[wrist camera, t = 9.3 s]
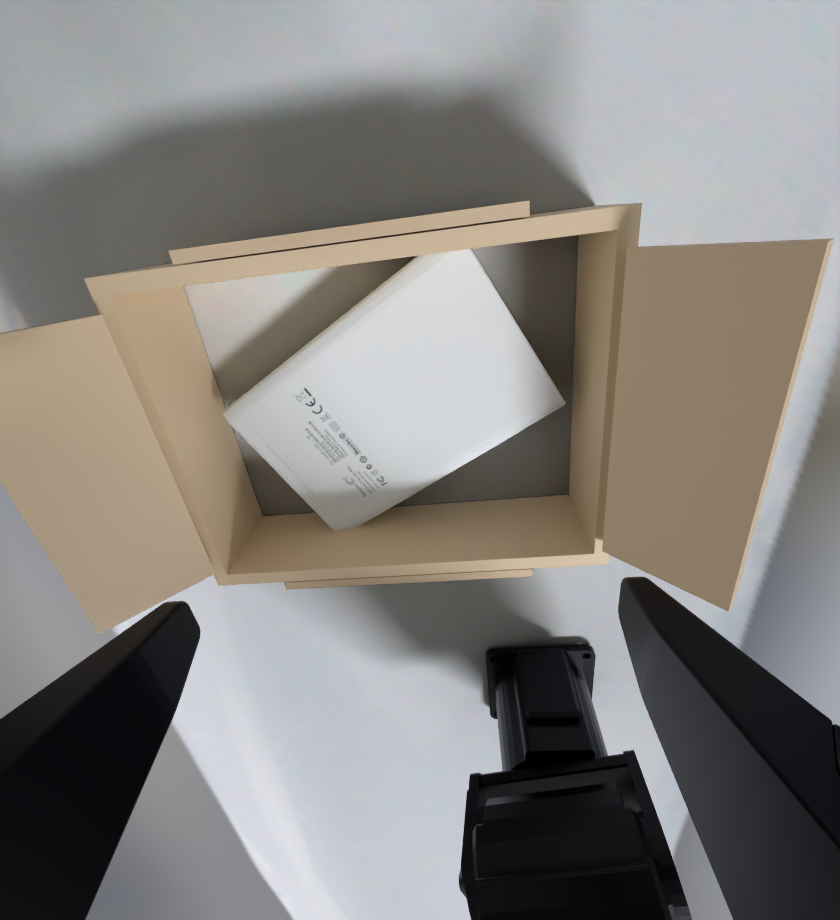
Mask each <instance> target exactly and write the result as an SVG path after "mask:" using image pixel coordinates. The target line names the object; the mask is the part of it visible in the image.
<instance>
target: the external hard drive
mask: <svg viewBox="0 0 840 920" xmlns="http://www.w3.org/2000/svg"><path fill="white" fill-rule="evenodd" d="M565 404H566V402H565V400H564V398H563V397H562V395H561V394H560V392H559V390H558V389H557V387H556V386H555V384H554V382H553V381H552V379H551V378H550V376H549V374H548V373H547V371H546V369H545V368H544V366H543V365H542V363H541V361H540V360H539V358H538V356H537V355H536V353H535V352H534V350H533V348H532V347H531V345H530V344H529V342H528V340H527V339H526V337H525V336H524V334H523V332H522V331H521V329H520V327H519V326H518V324H517V323H516V321H515V319H514V318H513V316H512V315H511V313H510V311H509V310H508V308H507V307H506V305H505V303H504V302H503V300H502V298H501V297H500V295H499V294H498V292H497V290H496V289H495V287H494V285H493V284H492V282H491V280H490V279H489V277H488V276H487V274H486V272H485V271H484V269H483V268H482V266H481V264H480V263H479V261H478V259H477V258H476V256H475V255H474V253H473V251H472V250H471V249H466V250H458V251H450V252H443V253H435V254H427V255H419V256H416V257H414V258H413V259H412V260H411V261H410V262H408V263H407V264H406V265H405V266H403V267H402V268H401V269H400V270H399V271H397V272H396V273H395V274H394V275H392V276H391V277H390V278H389V279H387V280H386V281H385V282H384V283H382V284H381V285H380V286H379V287H377V288H376V289H375V290H374V291H372V292H371V293H370V294H369V295H367V296H366V297H365V298H364V299H362V300H361V301H360V302H359V303H357V304H356V305H355V306H354V307H352V308H351V309H350V310H349V311H347V312H346V313H345V314H344V315H342V316H341V317H340V318H339V319H337V320H336V321H335V322H333V323H332V324H331V325H330V326H329V327H327V328H326V329H325V330H324V331H322V332H321V333H320V334H318V335H317V336H316V337H315V338H314V339H312V340H311V341H310V342H309V343H307V344H306V345H305V346H304V347H303V348H301V349H300V350H299V351H297V352H296V353H295V354H294V355H292V356H291V357H290V358H289V359H287V360H286V361H285V362H284V363H283V364H281V365H280V366H279V367H277V368H276V369H275V370H274V371H272V372H271V373H270V374H269V375H267V376H266V377H265V378H264V379H262V380H261V381H260V382H259V383H258V384H256V385H255V386H254V387H253V388H251V389H250V390H249V391H247V392H246V393H244V394H243V395H242V396H241V397H239V398H238V399H237V400H236V401H234V402H233V403H232V404H231V405H230V406H229V407H228V408H227V409H225V410H224V411H223V415H224V417H225V419H226V420H227V421H228V423H229V424H230V425H231V426H232V427H233V428H234V429H235V430H236V431H237V432H238V433H239V434H240V435H241V436H242V437H243V438H244V439H245V440H246V441H247V442H248V443H249V444H250V445H251V446H252V447H253V448H254V449H255V450H256V451H257V452H258V453H259V454H260V455H261V456H262V457H263V458H264V459H265V460H266V461H267V462H268V464H269V465H270V466H271V467H272V468H273V469H274V470H275V471H276V472H277V473H278V474H279V475H280V476H281V477H282V478H283V479H284V480H285V481H286V482H287V483H288V484H289V485H290V486H291V487H292V488H293V489H294V490H295V491H296V492H297V494H298V495H299V496H300V497H301V498H302V499H303V500H304V501H305V502H306V503H307V504H308V505H309V506H310V507H311V508H312V509H313V510H314V511H315V512H316V513H317V514H318V515H319V516H320V517H321V518H322V519H323V520H324V521H325V523H327V524H328V525H329V527H330V528H331V529H332V530H343V529H350V528H355V527H359V526H360V525H362V524H364V523H365V522H367V521H369V520H371V519H372V518H374V517H376V516H378V515H379V514H381V513H383V512H384V511H386V510H388V509H390V508H391V507H393V506H395V505H396V504H398V503H400V502H402V501H403V500H405V499H407V498H408V497H410V496H412V495H414V494H415V493H417V492H419V491H420V490H422V489H424V488H425V487H427V486H429V485H430V484H432V483H434V482H436V481H437V480H439V479H441V478H442V477H444V476H446V475H447V474H449V473H451V472H453V471H454V470H456V469H458V468H459V467H461V466H463V465H464V464H466V463H468V462H469V461H471V460H473V459H475V458H476V457H478V456H480V455H481V454H483V453H485V452H487V451H488V450H490V449H492V448H493V447H495V446H497V445H498V444H500V443H502V442H504V441H505V440H507V439H508V438H510V437H512V436H514V435H515V434H517V433H519V432H520V431H522V430H523V429H525V428H527V427H528V426H530V425H532V424H533V423H535V422H537V421H539V420H540V419H542V418H544V417H545V416H547V415H549V414H550V413H552V412H554V411H556V410H557V409H559V408H561V407H562V406H564V405H565Z"/></svg>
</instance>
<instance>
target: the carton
mask: <svg viewBox="0 0 840 920" xmlns="http://www.w3.org/2000/svg"><path fill="white" fill-rule="evenodd" d="M641 207H642V203H635V204H616V205H598V206H589V207H582V208H575V209H567V210H560V211H553V212H545V213H538V214H531V215H530V200H529V201H522V202H515V203H508V204H500V205H493V206H486V207H479V208H472V209H464V210H457V211H450V212H443V213H436V214H429V215H421V216H414V217H407V218H400V219H393V220H385V221H378V222H371V223H364V224H357V225H350V226H342V227H335V228H328V229H321V230H314V231H306V232H299V233H292V234H285V235H278V236H271V237H263V238H256V239H249V240H242V241H235V242H227V243H220V244H213V245H206V246H199V247H192V248H184V249H177V250H170V251H168V252H169V254H170V257H171V260H172V263H170V264H163V265H157V266H151V267H146V268H140V269H134V270H129V271H123V272H118V273H112V274H106V275H101V276H95V277H89V278H84V280H85V283H86V285H87V287H88V290H89V292H90V294H91V296H92V299H93V301H94V303H95V306H96V308H97V310H98V312H99V314H102V315H103V318H104V320H105V322H106V324H107V327H108V329H109V331H110V334H111V336H112V338H113V341H114V343H115V345H116V347H117V350H118V352H119V354H120V357H121V359H122V361H123V363H124V366H125V368H126V370H127V373H128V375H129V377H130V379H131V382H132V384H133V386H134V389H135V391H136V393H137V395H138V398H139V400H140V402H141V405H142V407H143V409H144V412H145V414H146V416H147V418H148V421H149V423H150V425H151V428H152V430H153V432H154V434H155V437H156V439H157V441H158V444H159V446H160V448H161V450H162V453H163V455H164V457H165V460H166V462H167V464H168V466H169V469H170V471H171V473H172V476H173V478H174V480H175V482H176V485H177V487H178V489H179V492H180V494H181V496H182V499H183V501H184V503H185V505H186V508H187V510H188V512H189V515H190V517H191V519H192V521H193V524H194V526H195V528H196V531H197V533H198V535H199V537H200V540H201V542H202V544H203V547H204V549H205V551H206V553H207V556H208V558H209V560H210V563H211V565H212V567H213V570H214V572H215V574H214V576H215V579H216V581H217V583H218V585H236V584H255V583H273V582H284V585H285V587H286V589H303V588H322V587H341V586H360V585H379V584H398V583H417V582H436V581H455V580H474V579H493V578H512V577H531V576H533V569H532V568H549V567H567V566H586V565H604V564H608V562H609V554H607V553H605V552H603V551H602V545H603V533H604V521H605V509H606V497H607V484H608V472H609V460H610V448H611V436H612V424H613V412H614V400H615V388H616V376H617V364H618V352H619V340H620V328H621V316H622V304H623V292H624V280H625V268H626V256H627V249H629V248H633V247H638V239H639V228H640V218H641ZM573 235H579V236H578V263H577V290H576V317H575V344H574V371H573V398H572V425H571V452H570V478H569V495H556V496H542V497H528V498H514V499H500V500H486V501H472V502H457V503H443V504H429V505H415V506H401V507H391V508H390V509H388V510H386V511H384V512H383V513H381V514H379V515H378V516H376V517H374V518H372V519H371V520H369V521H367V522H365V523H364V524H362V525H360V526H359V527H355V528H350V529H343V530H332V529H331V528H330V527H329V525H328V524H327V523H325V521H324V520H323V519H322V518H321V517H320V516H319V515H318V514H317V513H302V514H288V515H274V516H262V513H261V510H260V507H259V504H258V501H257V498H256V495H255V493H254V490H253V487H252V484H251V481H250V478H249V475H248V472H247V469H246V467H245V464H244V461H243V458H242V455H241V452H240V449H239V446H238V443H237V441H236V438H235V435H234V432H233V429H232V426H231V425H230V424H229V423H228V421H227V420H226V419H225V417H224V415H223V411H224V410H225V406H224V403H223V400H222V397H221V394H220V391H219V388H218V386H217V383H216V380H215V377H214V374H213V371H212V368H211V365H210V362H209V360H208V357H207V354H206V351H205V348H204V345H203V342H202V339H201V336H200V334H199V331H198V328H197V325H196V322H195V319H194V316H193V313H192V310H191V308H190V305H189V302H188V299H187V296H186V293H185V290H184V287H183V286H188V285H196V284H204V283H212V282H219V281H227V280H235V279H242V278H250V277H258V276H265V275H273V274H281V273H289V272H296V271H304V270H312V269H319V268H327V267H335V266H342V265H350V264H358V263H366V262H373V261H381V260H389V259H396V258H404V257H412V256H419V255H427V254H435V253H443V252H450V251H458V250H466V249H473V248H481V247H489V246H496V245H504V244H512V243H520V242H527V241H535V240H543V239H550V238H558V237H566V236H573Z"/></svg>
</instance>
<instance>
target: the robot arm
mask: <svg viewBox="0 0 840 920" xmlns="http://www.w3.org/2000/svg"><path fill="white" fill-rule="evenodd" d="M618 613H619V619H620V623H621V627H622V630H623V633H624V637H625V640H626V644H627V647H628V651H629V654H630V658H631V661H632V664H633V668H634V671H635V675H636V678H637V682H638V685H639V688H640V692H641V695H642V698H643V701H644V703H645V706H646V708H647V711H648V713H649V716H650V718H651V721H652V723H653V726H654V728H655V730H656V733H657V735H658V738H659V740H660V743H661V745H662V747H663V750H664V752H665V755H666V757H667V760H668V762H669V764H670V767H671V769H672V772H673V774H674V777H675V779H676V781H677V784H678V786H679V789H680V791H681V794H682V796H683V798H684V801H685V803H686V806H687V808H688V811H689V813H690V815H691V818H692V820H693V823H694V825H695V827H696V830H697V832H698V835H699V837H700V840H701V842H702V844H703V847H704V849H705V852H706V854H707V857H708V859H709V861H710V864H711V866H712V869H713V871H714V874H715V876H716V879H717V881H718V883H719V885H720V888H721V891H722V893H723V896H724V898H725V900H726V903H727V905H728V908H729V910H730V912H731V915H732V917H733V920H840V726H838V725H832V721H831V720H830V719H829V718H828V717H826V716H825V715H824V714H822V713H821V712H820V711H819V710H817V709H816V708H815V707H813V706H812V705H811V704H809V703H808V702H807V701H806V700H804V699H803V698H802V697H800V696H799V695H798V694H797V693H795V692H794V691H793V690H791V689H790V688H789V687H788V686H786V685H785V684H784V683H782V682H781V681H780V680H778V679H777V678H776V677H775V676H773V675H772V674H771V673H769V672H768V671H767V670H766V669H764V668H763V667H762V666H760V665H759V664H758V663H756V662H755V661H754V660H752V659H751V658H750V657H749V656H747V655H746V654H745V653H744V652H742V651H741V650H740V649H738V648H737V647H736V646H734V645H733V644H732V643H731V642H729V641H728V640H727V639H725V638H724V637H723V636H721V635H720V634H719V633H718V632H716V631H715V630H714V629H712V628H711V627H710V626H709V625H707V624H706V623H705V622H703V621H702V620H701V619H699V618H698V617H697V616H696V615H694V614H693V613H692V612H690V611H689V610H688V609H687V608H685V607H684V606H683V605H681V604H680V603H679V602H677V601H676V600H675V599H674V598H672V597H671V596H670V595H668V594H667V593H666V592H665V591H663V590H662V589H661V588H659V587H658V586H657V585H655V584H654V583H653V582H652V581H650V580H649V579H647V578H645V577H627V578H624V579H623V580H622V582H621V589H620V597H619V606H618ZM199 639H200V627H199V625H198V623H197V621H196V619H195V617H194V615H193V613H192V611H191V609H190V607H189V605H188V604H187V603H186V602H184V601H173V602H166V603H163V604H162V605H160V606H159V607H158V608H156V609H155V610H153V611H152V612H151V613H149V614H148V615H146V616H145V617H143V618H142V619H141V620H139V621H138V622H136V623H135V624H134V625H132V626H131V627H129V628H128V629H127V630H125V631H124V632H122V633H121V634H120V635H118V636H117V637H115V638H114V639H112V640H111V641H110V642H108V643H107V644H105V645H104V646H103V647H101V648H100V649H98V650H97V651H96V652H94V653H93V654H91V655H90V656H89V657H87V658H86V659H84V660H83V661H82V662H80V663H79V664H77V665H76V666H74V667H73V668H72V669H70V670H69V671H67V672H66V673H65V674H63V675H62V676H60V677H59V678H58V679H56V680H55V681H53V682H52V683H51V684H49V685H48V686H46V687H45V688H44V689H42V690H41V691H39V692H38V693H37V694H35V695H34V696H32V697H31V698H29V699H28V700H27V701H25V702H24V703H23V704H21V705H20V706H18V707H17V708H15V709H14V710H13V711H11V712H10V713H8V714H7V715H6V716H4V717H3V718H1V719H0V920H86V918H87V915H88V913H89V911H90V908H91V906H92V904H93V901H94V899H95V897H96V895H97V892H98V890H99V888H100V885H101V883H102V881H103V878H104V876H105V874H106V871H107V869H108V867H109V864H110V862H111V860H112V857H113V855H114V853H115V851H116V848H117V846H118V844H119V841H120V839H121V837H122V834H123V832H124V830H125V827H126V825H127V823H128V821H129V818H130V816H131V814H132V811H133V809H134V807H135V804H136V802H137V800H138V797H139V795H140V793H141V791H142V788H143V786H144V784H145V781H146V779H147V777H148V774H149V772H150V770H151V767H152V765H153V763H154V760H155V758H156V756H157V753H158V751H159V749H160V746H161V744H162V742H163V740H164V737H165V735H166V733H167V730H168V728H169V726H170V724H171V721H172V719H173V716H174V714H175V711H176V709H177V706H178V703H179V700H180V697H181V694H182V691H183V688H184V685H185V682H186V679H187V676H188V673H189V670H190V667H191V664H192V661H193V658H194V655H195V651H196V648H197V645H198V642H199ZM486 666H487V678H488V691H489V703H490V715H491V717H492V718H494V719H498V729H499V739H500V749H501V760H502V770H503V771H502V772H495V773H488V774H481V773H474V774H470V781H469V790H467V799H466V811H465V823H464V835H463V847H462V859H461V870H460V874H459V886H460V890H461V892H462V893H463V894H464V896H465V897H466V898H467V902H468V907H469V912H470V916H471V920H692V918H691V914H690V911H689V908H688V905H687V901H686V898H685V895H684V892H683V889H682V886H681V883H680V880H679V877H678V874H677V871H676V868H675V865H674V862H673V859H672V856H671V853H670V850H669V847H668V844H667V841H666V838H665V835H664V833H663V830H662V827H661V824H660V821H659V819H658V816H657V813H656V810H655V808H654V805H653V802H652V799H651V796H650V794H649V791H648V788H647V785H646V783H645V780H644V777H643V774H642V771H641V769H640V766H639V763H638V760H637V758H636V755H635V752H634V750H631V751H624V752H623V753H624V754H618V755H611V756H608V754H607V751H606V747H605V744H604V741H603V737H602V734H601V730H600V727H599V724H598V720H597V717H596V713H595V710H594V707H593V703H592V689H593V678H594V666H595V653H594V650H593V648H592V647H591V646H589V645H571V646H543V647H516V648H492V649H489V650H487V651H486Z"/></svg>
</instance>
